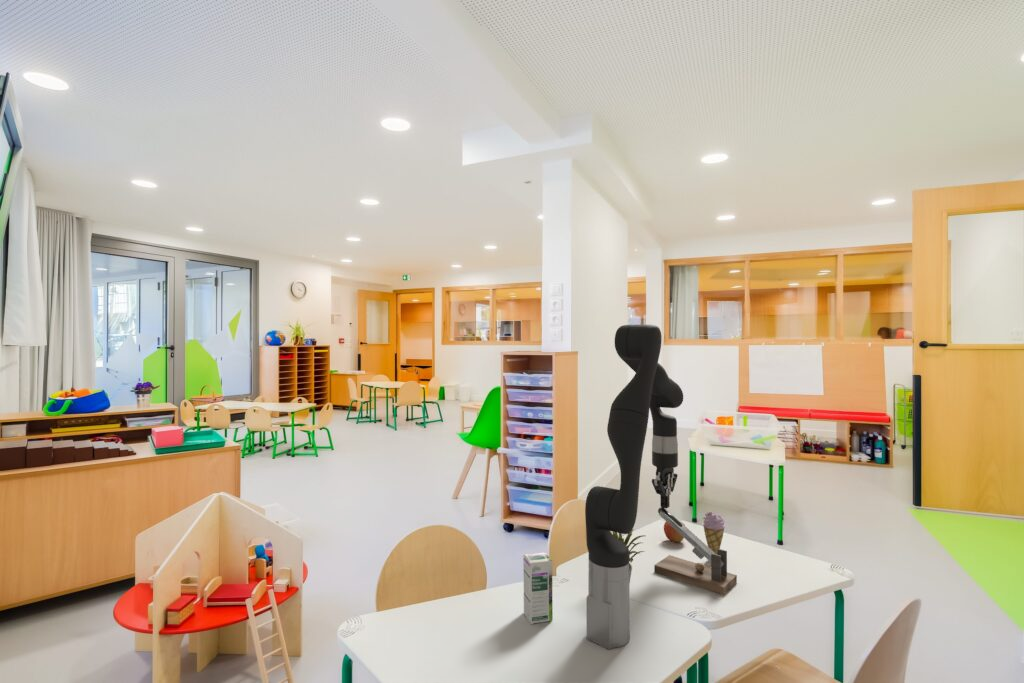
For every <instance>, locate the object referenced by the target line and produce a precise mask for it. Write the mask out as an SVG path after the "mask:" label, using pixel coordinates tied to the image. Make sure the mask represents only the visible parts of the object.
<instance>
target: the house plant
mask: <svg viewBox="0 0 1024 683" xmlns="http://www.w3.org/2000/svg"><path fill="white" fill-rule="evenodd" d="M634 530H635V528H633V529H632V531H631V532H630V533H628V534H626V537H623V534H621V533H617V532H613V531H612V534H613V536H614V537H616V538H617V539H618V540H619V541H621V542H622V543H624V544H625V545H626V546H627V547H628V549H629V548H630V547H631V545H633V546H632V547H631V548H630V549H629V554H630V555H632V554H633V555H632V556H631V557H630V561H629V585H630V583H631V577H632V570H633V565H632V562H633V561H634V557H635V556H637V555H638V554H639V555H640V556H642V555H641V553H645V552H646V551H644V550H640V551H636V550H633V549H634V547H636V546H637V545H639V544H643V542H641V541H640V542H637V543H634V542H635V541H636V540H639V538H642V537H645V535H644V534H643V535H638V536H635V537H634V538H633V539H631V537H632V535H633V531H634ZM630 539H631V541H630ZM629 541H630V542H629Z"/></svg>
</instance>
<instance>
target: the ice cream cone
mask: <svg viewBox="0 0 1024 683" xmlns="http://www.w3.org/2000/svg"><path fill="white" fill-rule="evenodd" d="M702 520H703V531H704V535H705V540H706V545H707V546H708V547H709V548H710V549H711V550H712V551H713V552H715V553H716V554H717V549H721V545H722V541H723V538H724V532H725V528H726V526H725V519H724V518H723V517H722V515H720V514H718V513H715V512H713V511H711V510H710V511H707V513H705V516H704V517H702Z"/></svg>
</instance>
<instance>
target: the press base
mask: <svg viewBox="0 0 1024 683" xmlns="http://www.w3.org/2000/svg"><path fill="white" fill-rule="evenodd" d="M721 558H722V559H723V560H724V561H725V564H724V565H723V566H722V567H721ZM710 564H711V566H707V565H704V564H703V563H702V562H693V561H690V560H687V559H684V558H679V557H677V556H674V555H670V554H669V555H667V556H666V557H665V558H663V559H662V560H660V561H658V562H657V563H655V564H654V568H653V569H654V573H657V574H659V575H662V576H666V577H669V578H671V579H675V580H678V581H681V582H684V583H687V584H689V585H692V586H693V585H694V586H696V587H699V588H702V589H705V590H706V591H707V590H708V591H711V592H713V593H717V594H720V595H723V596H724V595H726V593H727V592H729V591H730V589H732V588H733V587H734V586H735V584H736V583H738V582H737V581H738V580H737V579H738V577H737V575H736V574H734V573H731V572H728V550H725V549H721V548H720V549H717V555H716V554H713V553H712V554H711V562H710Z"/></svg>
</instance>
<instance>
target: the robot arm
mask: <svg viewBox="0 0 1024 683" xmlns="http://www.w3.org/2000/svg"><path fill="white" fill-rule="evenodd" d="M662 338H663V337H662V331H661V329H660V327H659V326H658V325H656V324H624V325H621V326H619V327H618V328H617V330H616V332H615V335H614V348H615V351H616V354H617V355H618V357H619V358H620V359H621V360H622V361H623V362H624V363H625V364H626V365H627V366H628V367H629V368H630V369H631V370H632V371H633V372H634V373H635V374H634V375H633V377H632V379H631V380H629V382H628V383H627V384H626V385H625V387H624V388H622V390H621V391H620V392H619V393H618V395H617V396H616V397H615V398H614V399H613V402H612V403H611V406H610V410H609V411H610V412H609V416H608V422H607V426H606V427H607V429H606V430H607V436H608V440H609V442H610V444H611V447H612V450H613V452H614V454H615V457H616V459H617V461H618V465H619V470H620V484H619V489H618V488H617V489H616V488H611V487H605V486H599V485H596V486H592V488H590V490H589V491H588V493H587V496H586V500H585V505H584V506H585V507H584V508H585V510H584V514H585V516H584V517H585V534H586V535H585V537H586V548H587V551H588V575H587V576H588V578H587V579H588V582H587V583H588V588H587V589H588V595H587V596H586V639H587V640H589V641H591V642H593V643H595V644H597V645H599V646H601V647H603V648H605V649H607V650H612V649H613V648H620V647H623V646H626V645H627V644H628V643H629V642H630V636H631V635H630V632H631V631H630V630H631V629H630V627H631V626H630V625H631V624H630V622H631V620H630V619H631V618H630V617H631V616H630V613H631V612H630V610H631V609H630V607H631V606H630V604H631V602H630V584H629V563H630V558H631V557H630V555H631V554H629V551H630V549H629V548H628V547H627V546H626V545H625V544H624V543H622V542H621V541H619V540H618V539H617V538H616V537H614V536H613V532H617V534H619V533H621V534H622V535H628V533H630V532H631V531H632V529H634V527H635V524H636V521H637V515H638V508H639V507H638V506H639V495H640V494H639V492H640V479H641V476H640V475H641V466H642V460H643V452H644V447H645V442H646V436H647V430H648V423H649V418H650V417H649V416H650V415H651V420H652V438H651V463H652V466H654V467H655V468H656V470H655V478H652V479H651V484H652V485H653V489H654V490H655V493H656V494H658V495H660V496H659V497H660V508H661V507H662V508H665V509H668V508H670V496H671V494H672V493H673V492H674V489H675V485H676V484H677V479H678V474H677V473H675V468H677V467H678V465H679V449H678V446H679V444H678V423H677V422H678V421H677V418H676V417H675V416H673V415H670V414H666V413H665V412H663V410H662V409H661V408H665V409H667V408H668V409H677V408H679V407H680V406H681V405H682V404H683V401H684V392H683V390H682V387H680V385H679V384H678V383H677V382H675V381H674V380H673V379H672V378H670V377H669V375H668V373H667V371H666V369H665V368H664V367H663V365H662V364H660V363H659V359H660V353H661V350H662V341H663V340H662ZM650 413H651V414H650Z"/></svg>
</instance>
